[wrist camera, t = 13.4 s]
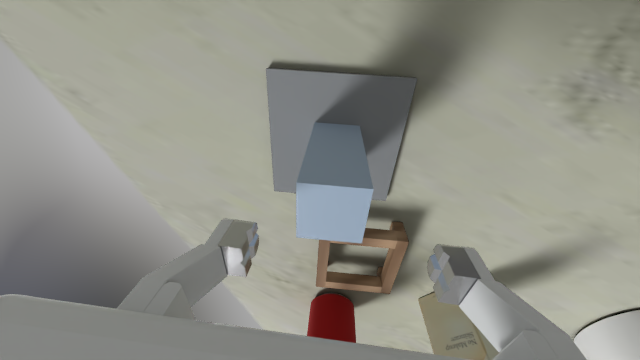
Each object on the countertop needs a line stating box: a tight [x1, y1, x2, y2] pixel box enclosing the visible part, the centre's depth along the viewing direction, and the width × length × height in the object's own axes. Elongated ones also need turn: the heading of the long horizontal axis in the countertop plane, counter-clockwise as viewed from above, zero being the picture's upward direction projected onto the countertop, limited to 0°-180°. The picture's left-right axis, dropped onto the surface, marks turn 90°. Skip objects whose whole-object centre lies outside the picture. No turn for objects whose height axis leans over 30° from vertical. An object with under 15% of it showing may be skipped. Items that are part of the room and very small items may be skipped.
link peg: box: [296, 122, 374, 243], centre depth 17 cm, size 4×4×10 cm
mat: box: [266, 68, 417, 201], centre depth 21 cm, size 12×12×1 cm
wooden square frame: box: [316, 222, 409, 294], centre depth 28 cm, size 9×9×3 cm
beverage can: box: [307, 293, 356, 343], centre depth 31 cm, size 7×7×12 cm
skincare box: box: [418, 292, 499, 360], centre depth 28 cm, size 6×4×12 cm
